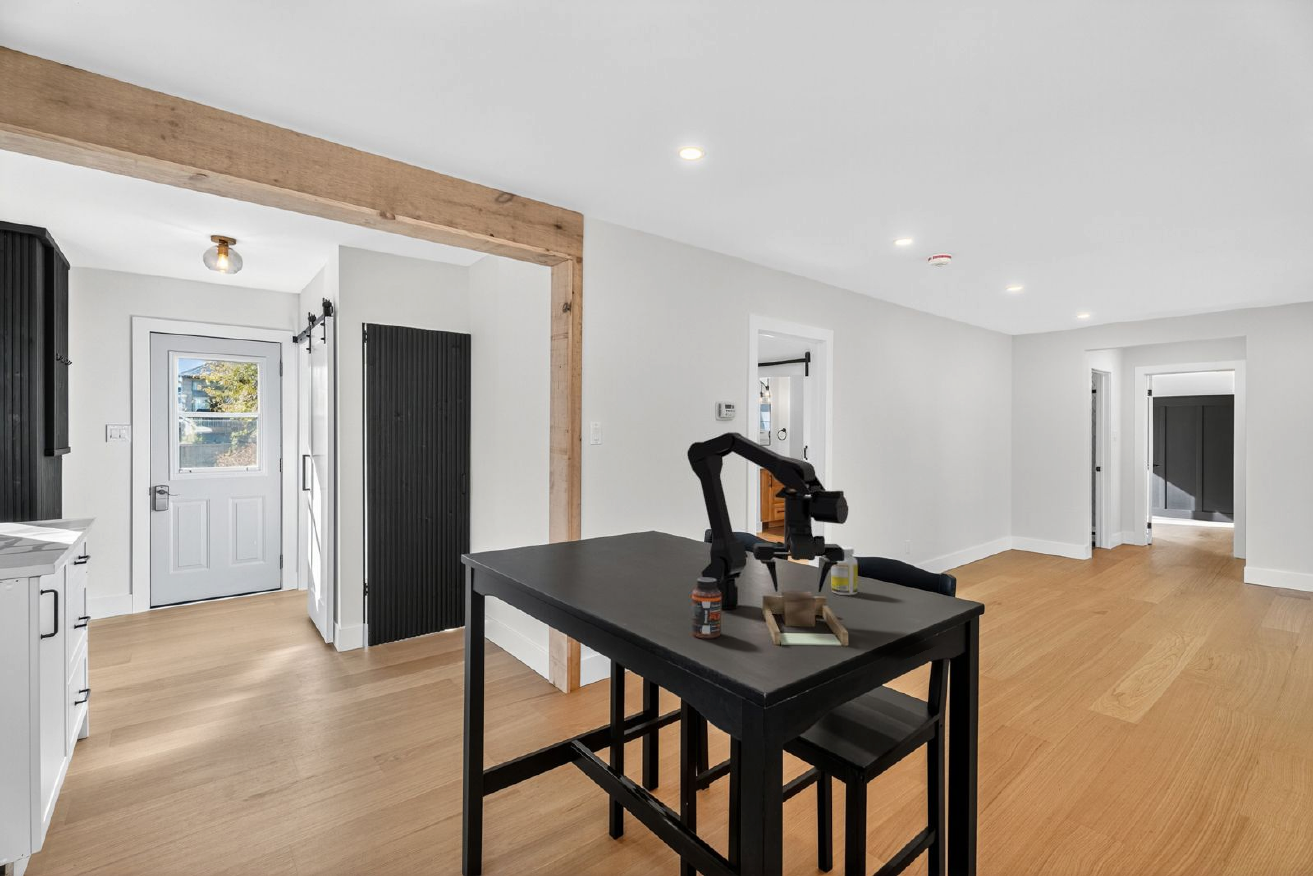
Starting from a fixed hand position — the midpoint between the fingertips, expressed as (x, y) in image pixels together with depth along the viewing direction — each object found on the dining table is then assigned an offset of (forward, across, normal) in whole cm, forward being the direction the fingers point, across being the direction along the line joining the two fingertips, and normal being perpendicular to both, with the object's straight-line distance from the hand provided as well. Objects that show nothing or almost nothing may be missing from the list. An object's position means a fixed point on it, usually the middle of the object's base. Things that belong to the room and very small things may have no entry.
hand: (797, 591), depth 134 cm
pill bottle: (+7, +16, +26) cm, 31 cm away
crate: (+7, 0, 0) cm, 7 cm away
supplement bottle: (+7, -20, -10) cm, 23 cm away
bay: (+6, 0, -5) cm, 8 cm away
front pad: (+6, 0, -12) cm, 14 cm away
